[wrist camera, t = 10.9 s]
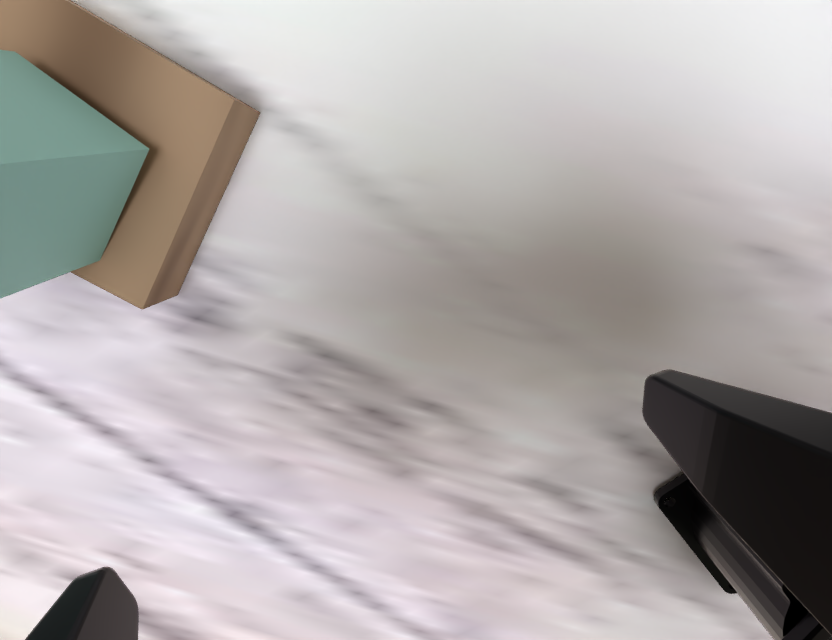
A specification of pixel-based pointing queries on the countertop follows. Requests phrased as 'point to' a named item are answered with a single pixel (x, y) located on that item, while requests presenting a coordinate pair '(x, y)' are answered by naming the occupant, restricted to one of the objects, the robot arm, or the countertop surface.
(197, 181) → the walnut slab
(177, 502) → the countertop surface
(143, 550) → the countertop surface
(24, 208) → the teal block
